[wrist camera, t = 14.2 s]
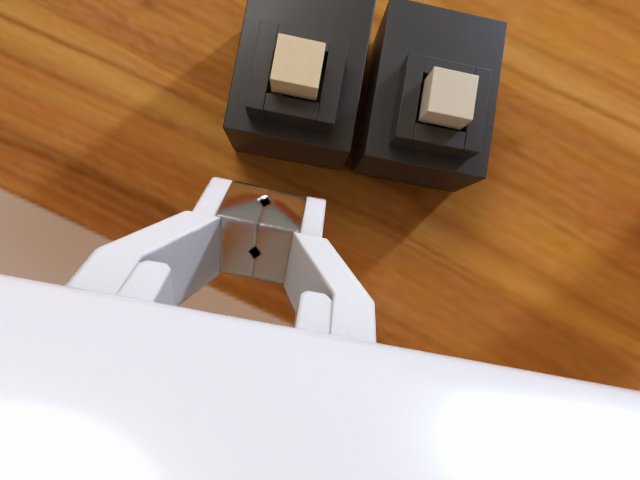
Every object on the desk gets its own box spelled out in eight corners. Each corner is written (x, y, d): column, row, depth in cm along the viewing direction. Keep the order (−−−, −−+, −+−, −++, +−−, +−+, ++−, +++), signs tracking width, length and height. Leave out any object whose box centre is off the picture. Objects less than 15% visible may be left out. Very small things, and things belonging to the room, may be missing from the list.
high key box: (340, 171, 30) (355, 144, 23) (234, 150, 30) (216, 117, 23) (363, 37, 31) (383, -28, 24) (260, 14, 31) (251, -58, 24)
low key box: (453, 192, 31) (500, 172, 24) (352, 173, 30) (370, 147, 24) (472, 60, 32) (523, 5, 25) (374, 39, 31) (398, -24, 24)
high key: (316, 101, 24) (318, 88, 22) (271, 92, 24) (269, 78, 22) (323, 58, 24) (326, 42, 22) (279, 49, 24) (278, 32, 22)
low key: (460, 130, 25) (473, 120, 23) (417, 121, 24) (427, 111, 23) (466, 88, 25) (479, 75, 23) (424, 79, 25) (434, 65, 23)
